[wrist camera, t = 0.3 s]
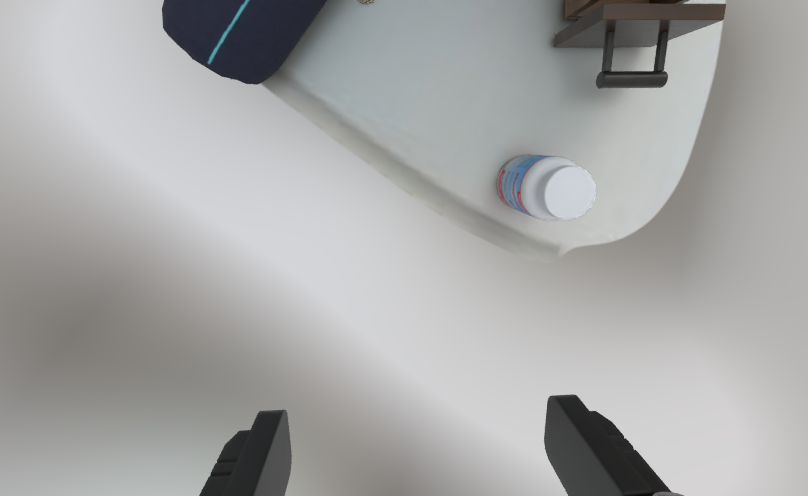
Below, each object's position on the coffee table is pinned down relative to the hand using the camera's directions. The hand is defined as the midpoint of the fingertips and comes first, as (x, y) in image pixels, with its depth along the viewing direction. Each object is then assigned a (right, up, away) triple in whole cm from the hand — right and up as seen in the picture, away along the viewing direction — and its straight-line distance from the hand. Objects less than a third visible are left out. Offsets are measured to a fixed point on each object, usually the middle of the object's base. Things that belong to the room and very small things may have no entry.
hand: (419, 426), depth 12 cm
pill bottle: (+13, +13, +32) cm, 37 cm away
